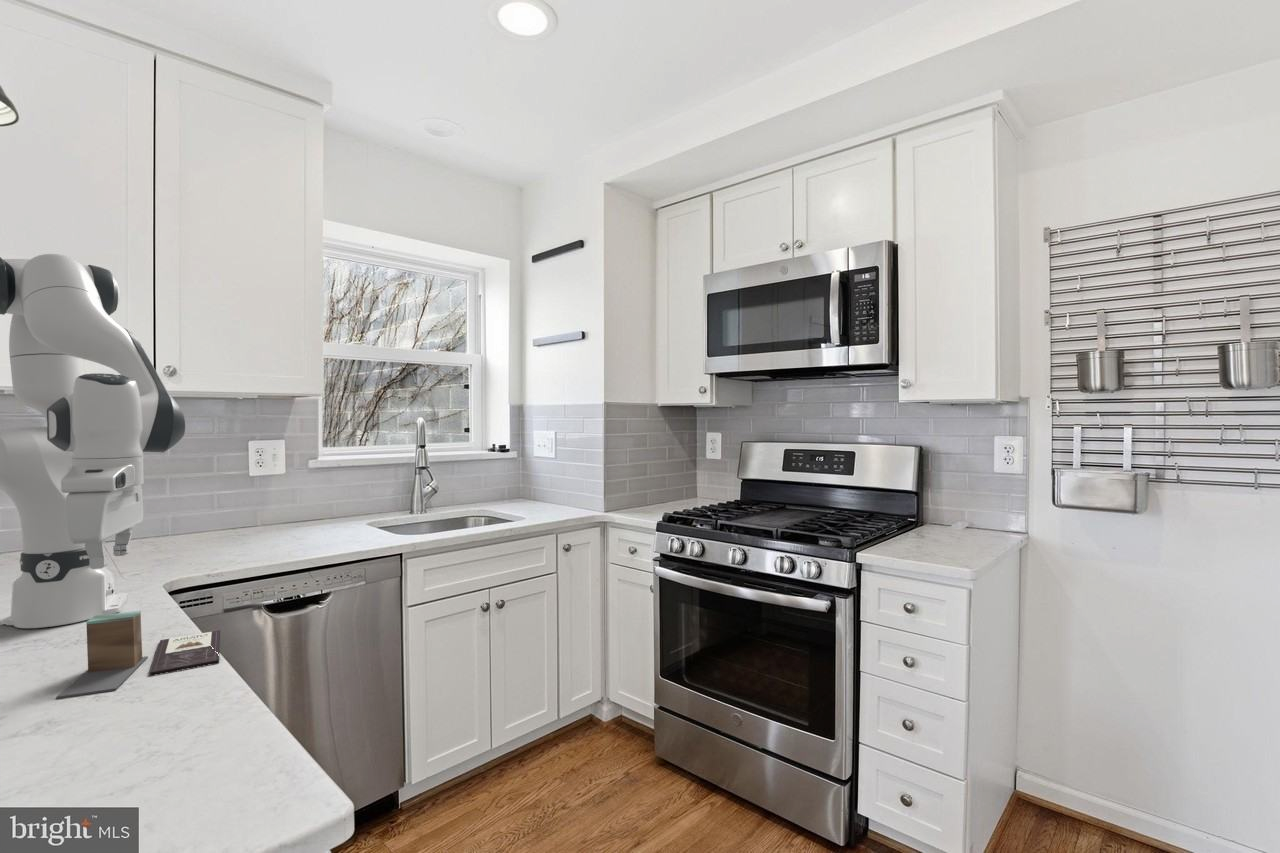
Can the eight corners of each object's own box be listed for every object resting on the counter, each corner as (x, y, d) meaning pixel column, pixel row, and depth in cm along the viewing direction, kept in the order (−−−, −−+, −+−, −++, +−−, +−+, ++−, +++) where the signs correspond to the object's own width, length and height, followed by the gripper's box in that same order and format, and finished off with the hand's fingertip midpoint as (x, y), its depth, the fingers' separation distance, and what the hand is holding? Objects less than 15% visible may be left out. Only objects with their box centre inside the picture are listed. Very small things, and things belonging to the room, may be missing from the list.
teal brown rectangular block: (97, 664, 105) (95, 615, 105) (142, 658, 107) (140, 610, 107) (88, 672, 102) (86, 621, 102) (134, 666, 104) (133, 616, 104)
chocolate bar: (149, 672, 101) (160, 640, 116) (150, 678, 101) (160, 645, 116) (218, 659, 106) (220, 630, 121) (219, 665, 106) (220, 635, 121)
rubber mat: (95, 664, 106) (95, 662, 106) (147, 657, 108) (147, 656, 108) (56, 698, 93) (56, 696, 93) (116, 690, 95) (116, 688, 95)
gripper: (109, 470, 112) (111, 550, 113) (54, 482, 93) (56, 578, 94) (153, 469, 115) (155, 547, 115) (108, 480, 96) (110, 574, 96)
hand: (110, 561), depth 104 cm, fingers open, 8 cm apart
